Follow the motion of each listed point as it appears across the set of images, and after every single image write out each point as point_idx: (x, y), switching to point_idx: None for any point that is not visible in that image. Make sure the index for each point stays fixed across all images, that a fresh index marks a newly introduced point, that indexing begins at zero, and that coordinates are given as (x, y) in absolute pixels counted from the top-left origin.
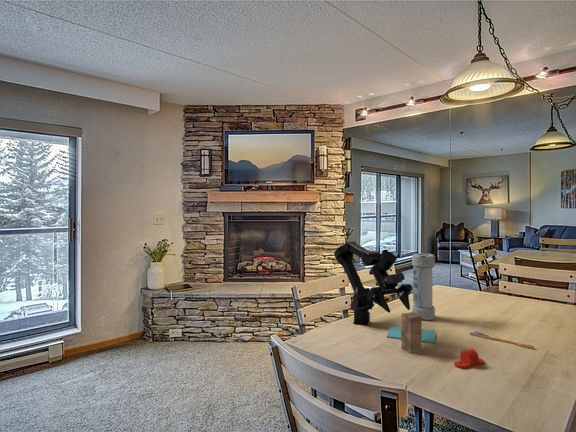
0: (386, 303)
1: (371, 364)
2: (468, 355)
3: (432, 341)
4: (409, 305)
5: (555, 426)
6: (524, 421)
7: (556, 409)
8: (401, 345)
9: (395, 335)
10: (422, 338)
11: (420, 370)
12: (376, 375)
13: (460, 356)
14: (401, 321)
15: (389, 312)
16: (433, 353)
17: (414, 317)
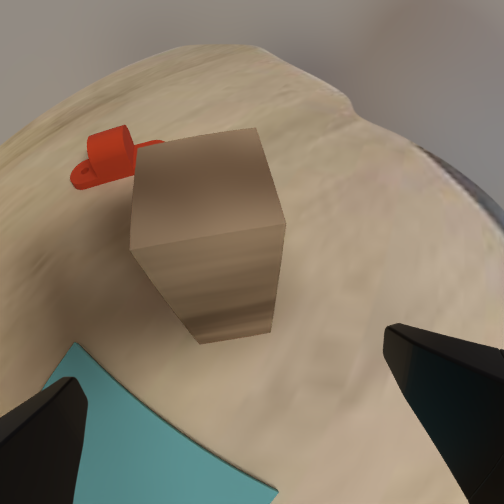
0: (473, 360)
1: (433, 212)
2: (126, 128)
3: (80, 349)
4: (39, 393)
5: (191, 45)
6: (218, 48)
7: (148, 62)
8: (271, 326)
9: (219, 489)
10: (97, 401)
11: (292, 152)
12: (422, 159)
13: (129, 157)
14: (279, 263)
15: (385, 346)
16: None
17: (212, 137)
